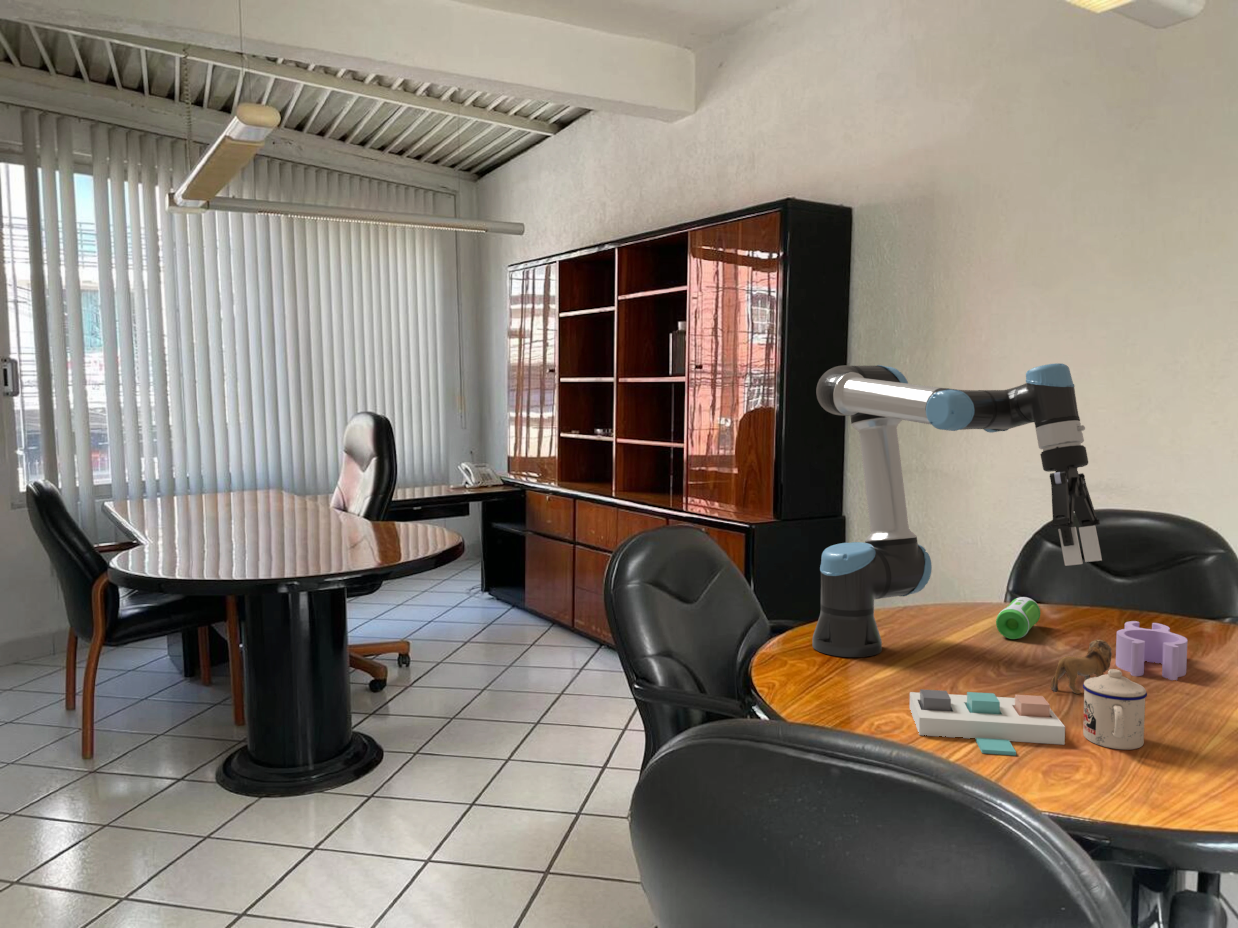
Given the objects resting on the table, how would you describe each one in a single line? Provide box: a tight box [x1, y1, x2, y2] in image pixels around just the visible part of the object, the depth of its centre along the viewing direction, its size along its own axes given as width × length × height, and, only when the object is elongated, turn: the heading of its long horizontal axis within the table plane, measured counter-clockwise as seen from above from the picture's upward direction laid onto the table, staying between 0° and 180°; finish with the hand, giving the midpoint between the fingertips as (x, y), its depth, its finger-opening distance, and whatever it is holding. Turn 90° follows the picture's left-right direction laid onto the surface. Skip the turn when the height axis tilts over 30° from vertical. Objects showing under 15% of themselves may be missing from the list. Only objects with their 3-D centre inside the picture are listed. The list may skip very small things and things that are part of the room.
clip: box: [1115, 620, 1188, 681], centre depth 182 cm, size 20×12×7 cm, turn 154°
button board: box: [909, 691, 1066, 746], centre depth 149 cm, size 13×22×3 cm, turn 78°
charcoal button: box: [919, 688, 951, 712], centre depth 150 cm, size 4×4×3 cm
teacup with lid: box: [1082, 668, 1148, 751], centre depth 140 cm, size 12×9×12 cm
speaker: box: [995, 596, 1041, 640], centre depth 208 cm, size 18×7×8 cm, turn 144°
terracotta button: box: [1014, 694, 1051, 717], centre depth 147 cm, size 4×4×3 cm
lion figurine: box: [1050, 639, 1113, 695], centre depth 167 cm, size 15×5×9 cm, turn 116°
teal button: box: [966, 691, 1000, 714], centre depth 148 cm, size 4×4×3 cm
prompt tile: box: [975, 738, 1017, 757], centre depth 139 cm, size 5×5×1 cm
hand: (1084, 563), depth 156 cm, fingers open, 13 cm apart
